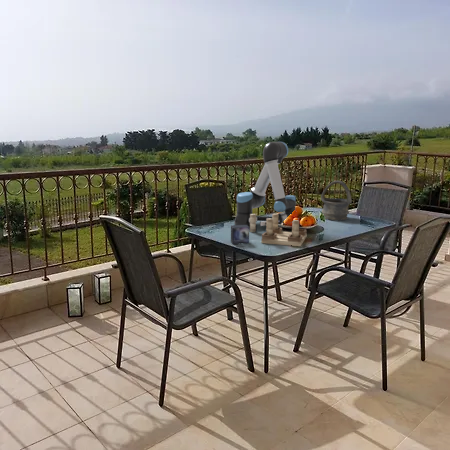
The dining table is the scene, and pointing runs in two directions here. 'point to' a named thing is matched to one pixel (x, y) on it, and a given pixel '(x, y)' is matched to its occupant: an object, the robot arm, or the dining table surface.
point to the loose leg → (252, 222)
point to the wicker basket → (336, 204)
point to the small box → (239, 234)
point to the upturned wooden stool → (283, 233)
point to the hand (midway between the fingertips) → (254, 222)
